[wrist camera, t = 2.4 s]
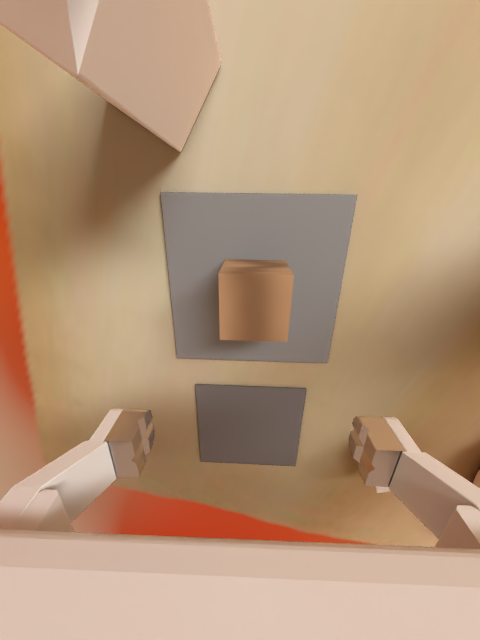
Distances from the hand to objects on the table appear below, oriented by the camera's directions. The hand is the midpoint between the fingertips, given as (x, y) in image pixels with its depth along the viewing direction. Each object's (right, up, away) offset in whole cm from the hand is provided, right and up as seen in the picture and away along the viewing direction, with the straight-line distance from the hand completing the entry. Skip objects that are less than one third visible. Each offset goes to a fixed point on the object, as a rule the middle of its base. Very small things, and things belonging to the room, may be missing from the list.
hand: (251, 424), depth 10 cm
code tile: (+1, +8, +17) cm, 19 cm away
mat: (+1, -11, +25) cm, 27 cm away
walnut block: (+1, +8, +17) cm, 18 cm away
